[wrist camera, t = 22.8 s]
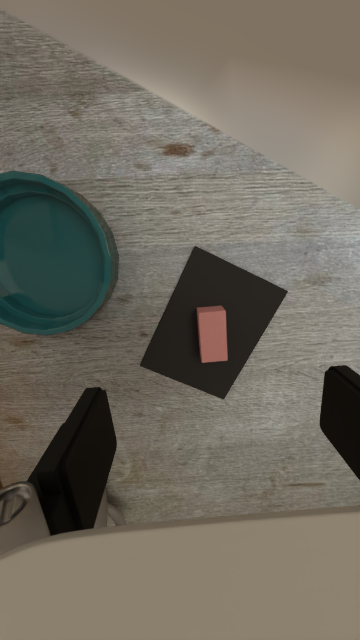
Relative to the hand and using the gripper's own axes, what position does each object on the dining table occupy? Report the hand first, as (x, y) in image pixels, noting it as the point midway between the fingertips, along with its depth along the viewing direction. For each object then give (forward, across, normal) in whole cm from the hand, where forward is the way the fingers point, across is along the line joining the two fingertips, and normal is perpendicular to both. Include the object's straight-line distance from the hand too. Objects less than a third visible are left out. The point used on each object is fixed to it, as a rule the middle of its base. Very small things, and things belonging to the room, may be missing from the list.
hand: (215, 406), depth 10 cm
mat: (+19, -2, +4) cm, 20 cm away
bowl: (+20, +15, -6) cm, 26 cm away
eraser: (+19, -2, +4) cm, 20 cm away
